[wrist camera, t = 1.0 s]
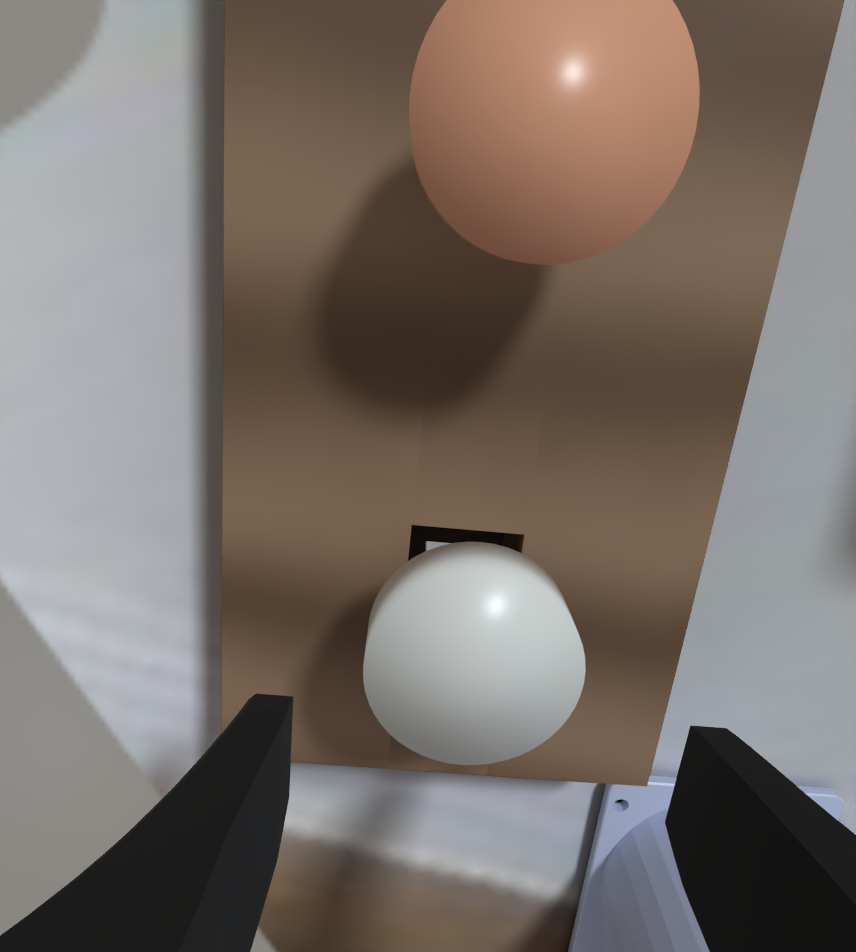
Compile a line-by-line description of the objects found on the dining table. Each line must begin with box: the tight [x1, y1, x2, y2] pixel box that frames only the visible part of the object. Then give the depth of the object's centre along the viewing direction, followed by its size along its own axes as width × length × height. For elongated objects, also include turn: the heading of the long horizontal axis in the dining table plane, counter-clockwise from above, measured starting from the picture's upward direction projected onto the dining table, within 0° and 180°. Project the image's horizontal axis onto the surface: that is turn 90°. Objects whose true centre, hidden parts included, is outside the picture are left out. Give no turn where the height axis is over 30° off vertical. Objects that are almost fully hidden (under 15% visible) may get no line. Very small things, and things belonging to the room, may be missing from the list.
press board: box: [221, 0, 844, 787], centre depth 17 cm, size 22×12×3 cm, turn 174°
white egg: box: [363, 541, 586, 765], centre depth 16 cm, size 4×4×4 cm
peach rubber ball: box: [409, 0, 700, 265], centre depth 12 cm, size 4×4×4 cm
